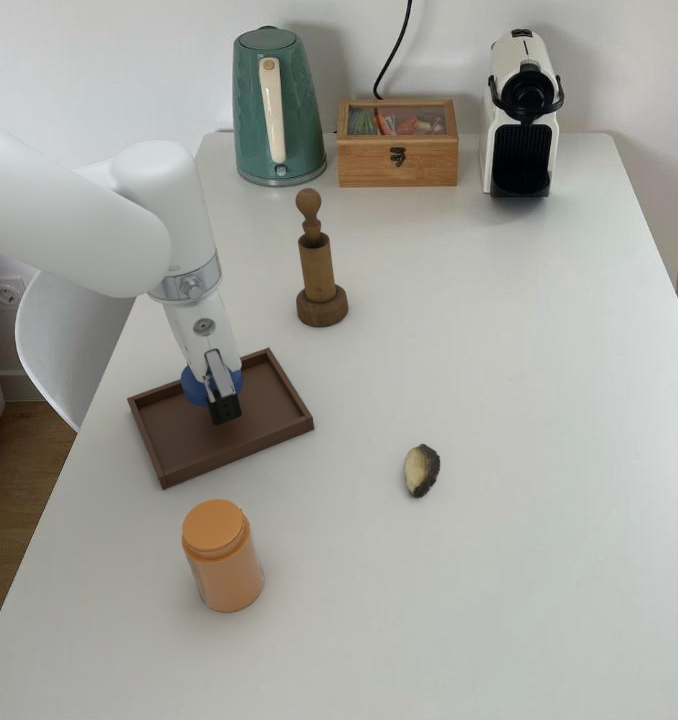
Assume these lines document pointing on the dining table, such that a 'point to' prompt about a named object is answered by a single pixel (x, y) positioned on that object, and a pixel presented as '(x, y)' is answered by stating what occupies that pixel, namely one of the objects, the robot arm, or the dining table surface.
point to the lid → (197, 390)
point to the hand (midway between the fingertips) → (216, 397)
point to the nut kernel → (421, 469)
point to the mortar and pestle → (317, 268)
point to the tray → (225, 441)
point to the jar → (222, 555)
